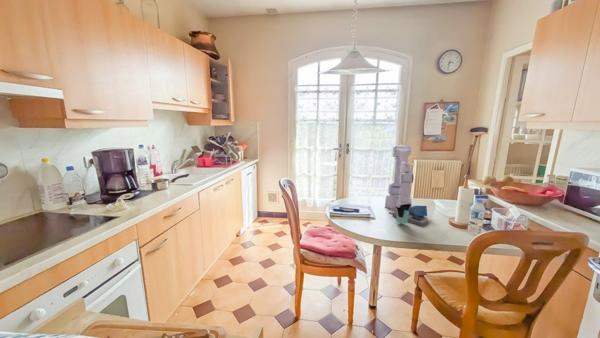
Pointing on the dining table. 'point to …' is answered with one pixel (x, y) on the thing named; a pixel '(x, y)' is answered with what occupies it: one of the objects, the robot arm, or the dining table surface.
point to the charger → (404, 218)
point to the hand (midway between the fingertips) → (402, 216)
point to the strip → (413, 219)
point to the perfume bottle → (418, 210)
